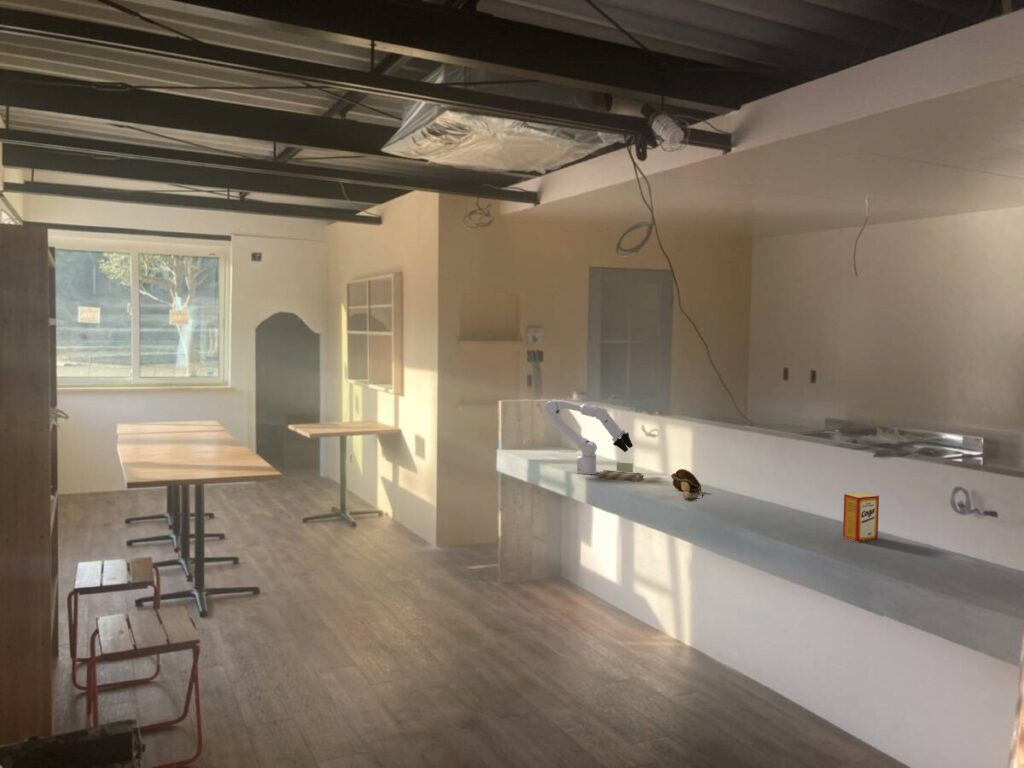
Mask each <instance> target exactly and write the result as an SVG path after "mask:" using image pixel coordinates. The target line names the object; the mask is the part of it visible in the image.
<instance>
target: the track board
mask: <svg viewBox="0 0 1024 768" xmlns="http://www.w3.org/2000/svg"><path fill="white" fill-rule="evenodd" d="M643 477H644V474H643V473H641V472H634V471H633V472H621V471H617V470H610V469H609V470H608V469H603V470H602V471H599V473H598V474H597V479H605V478H608V479H607V480H615V479H621V480H620V481H626V480H634V481H633V482H638V481H637V480H639V479H641V480H643V479H644V478H643ZM642 478H643V479H642ZM639 481H640V480H639Z"/></svg>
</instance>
